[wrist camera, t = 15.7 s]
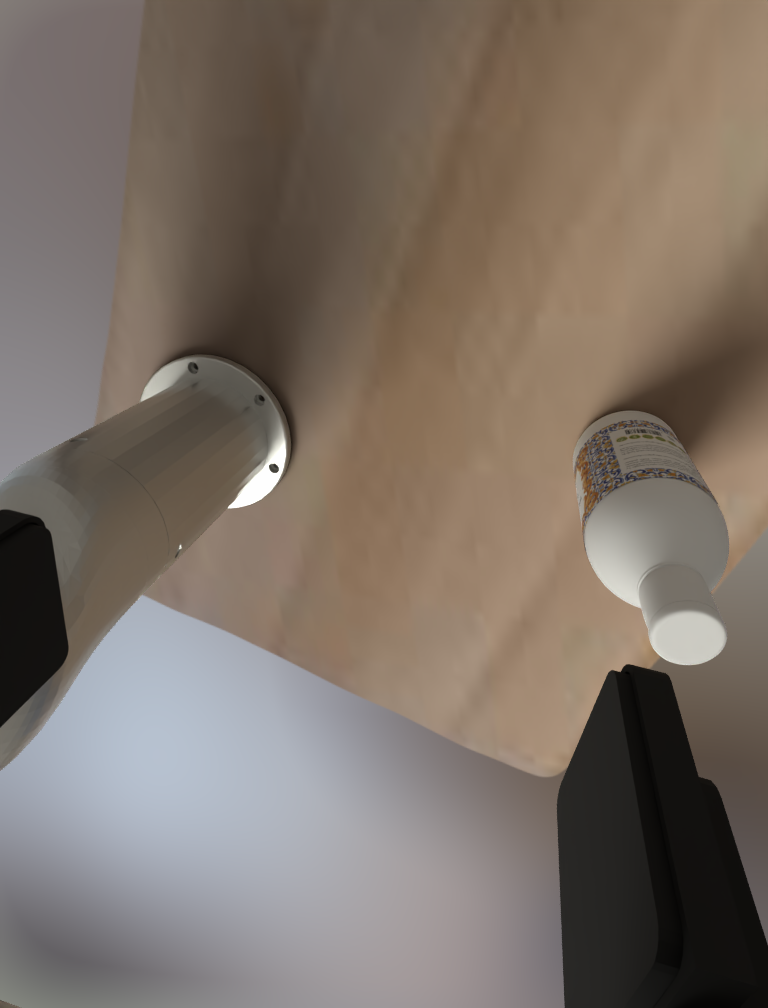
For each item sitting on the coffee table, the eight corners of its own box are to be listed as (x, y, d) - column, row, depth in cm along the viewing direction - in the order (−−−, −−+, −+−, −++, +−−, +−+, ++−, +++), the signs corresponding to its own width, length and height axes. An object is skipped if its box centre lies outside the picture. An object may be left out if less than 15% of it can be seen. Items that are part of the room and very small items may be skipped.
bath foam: (562, 422, 42) (584, 582, 24) (670, 396, 39) (778, 552, 22) (582, 508, 44) (615, 710, 27) (684, 489, 42) (792, 695, 25)
